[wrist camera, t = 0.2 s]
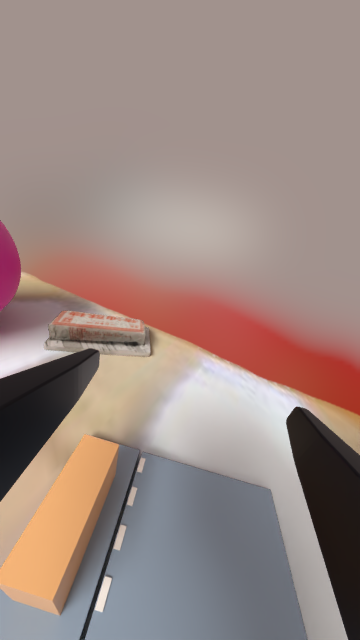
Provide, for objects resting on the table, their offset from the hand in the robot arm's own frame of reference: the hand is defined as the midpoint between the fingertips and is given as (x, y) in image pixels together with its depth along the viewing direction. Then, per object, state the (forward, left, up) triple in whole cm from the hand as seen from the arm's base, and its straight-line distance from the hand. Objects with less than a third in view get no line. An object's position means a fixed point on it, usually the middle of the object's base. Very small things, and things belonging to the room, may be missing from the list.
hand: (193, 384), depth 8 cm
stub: (-1, +5, -17) cm, 17 cm away
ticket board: (-1, -5, -17) cm, 18 cm away
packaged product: (+23, +16, -17) cm, 33 cm away
